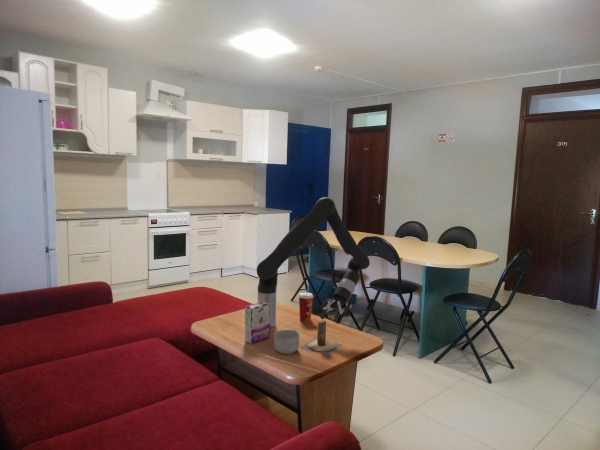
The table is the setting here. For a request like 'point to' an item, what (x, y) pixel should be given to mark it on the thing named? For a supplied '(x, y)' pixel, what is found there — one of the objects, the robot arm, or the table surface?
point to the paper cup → (305, 306)
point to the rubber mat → (321, 352)
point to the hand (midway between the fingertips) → (329, 320)
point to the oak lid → (321, 340)
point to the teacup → (286, 341)
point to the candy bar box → (257, 322)
